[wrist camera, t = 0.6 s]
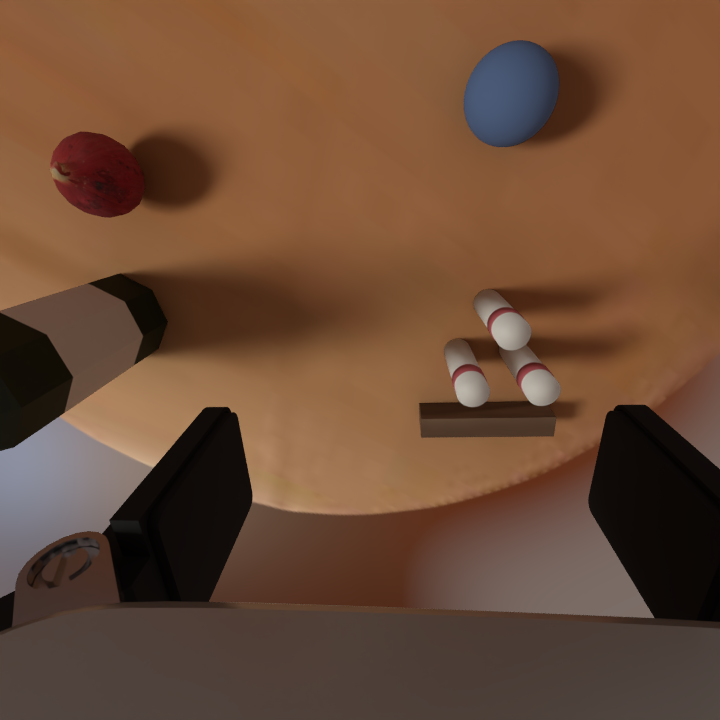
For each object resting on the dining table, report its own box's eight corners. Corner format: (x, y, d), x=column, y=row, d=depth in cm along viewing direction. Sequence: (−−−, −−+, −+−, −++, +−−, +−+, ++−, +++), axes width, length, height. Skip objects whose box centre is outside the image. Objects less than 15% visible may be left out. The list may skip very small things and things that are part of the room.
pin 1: (443, 338, 38) (456, 378, 30) (471, 337, 37) (491, 377, 30) (443, 363, 39) (455, 407, 31) (470, 362, 38) (489, 407, 30)
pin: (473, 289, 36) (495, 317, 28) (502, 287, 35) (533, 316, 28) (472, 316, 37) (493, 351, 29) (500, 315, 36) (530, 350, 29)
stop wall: (419, 403, 40) (421, 419, 38) (545, 401, 39) (556, 417, 36) (419, 420, 41) (421, 437, 38) (542, 419, 40) (553, 436, 37)
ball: (459, 60, 29) (474, 31, 24) (545, 52, 29) (581, 20, 23) (456, 153, 32) (470, 146, 26) (536, 147, 31) (567, 138, 26)
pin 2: (499, 336, 37) (527, 376, 29) (527, 335, 37) (563, 375, 29) (497, 361, 38) (524, 406, 30) (525, 361, 38) (559, 406, 30)
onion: (172, 163, 34) (110, 157, 26) (151, 227, 36) (88, 237, 28) (106, 123, 33) (22, 105, 25) (87, 190, 35) (6, 191, 28)
